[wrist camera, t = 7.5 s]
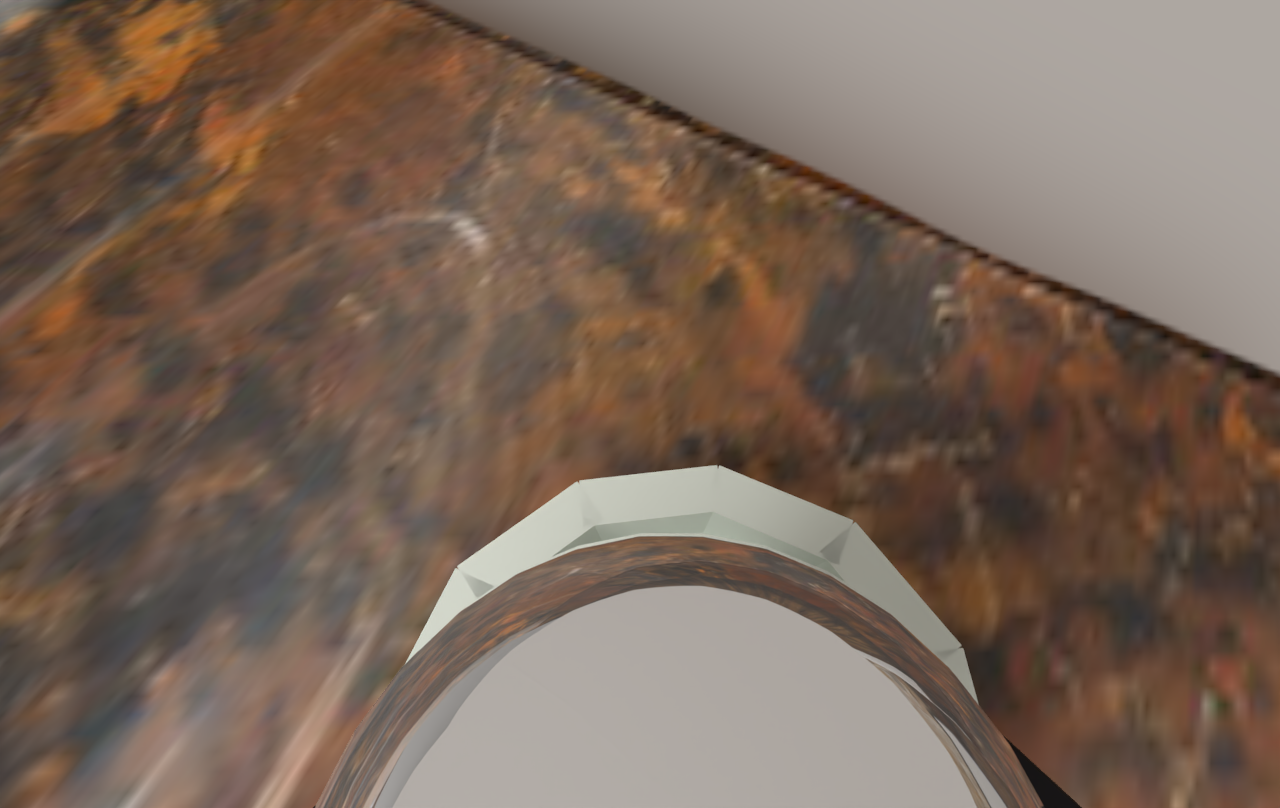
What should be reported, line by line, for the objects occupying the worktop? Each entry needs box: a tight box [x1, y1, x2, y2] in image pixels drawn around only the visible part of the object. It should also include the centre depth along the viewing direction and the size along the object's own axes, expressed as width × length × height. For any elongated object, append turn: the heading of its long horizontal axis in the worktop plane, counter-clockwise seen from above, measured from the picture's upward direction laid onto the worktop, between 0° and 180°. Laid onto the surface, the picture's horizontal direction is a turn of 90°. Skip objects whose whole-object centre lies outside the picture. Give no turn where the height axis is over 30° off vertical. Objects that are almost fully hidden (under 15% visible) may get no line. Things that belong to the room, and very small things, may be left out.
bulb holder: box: [406, 465, 979, 705], centre depth 14 cm, size 12×12×4 cm
